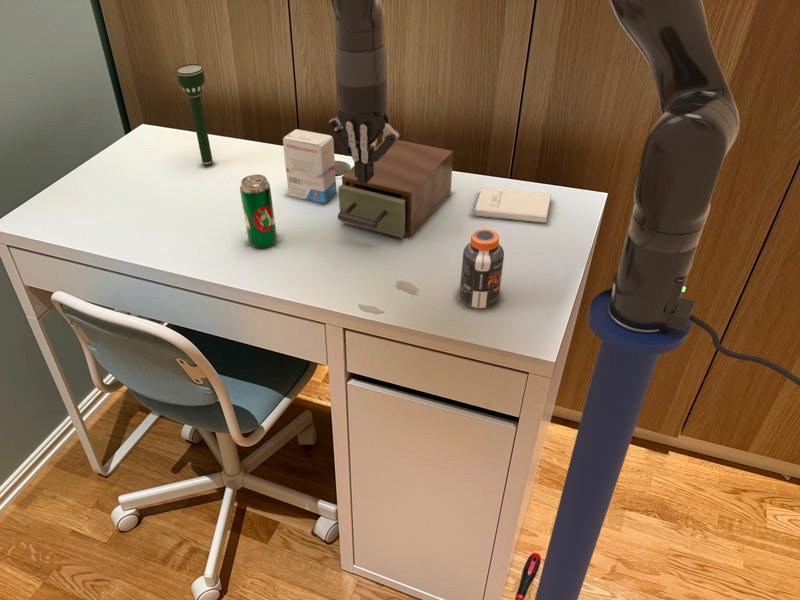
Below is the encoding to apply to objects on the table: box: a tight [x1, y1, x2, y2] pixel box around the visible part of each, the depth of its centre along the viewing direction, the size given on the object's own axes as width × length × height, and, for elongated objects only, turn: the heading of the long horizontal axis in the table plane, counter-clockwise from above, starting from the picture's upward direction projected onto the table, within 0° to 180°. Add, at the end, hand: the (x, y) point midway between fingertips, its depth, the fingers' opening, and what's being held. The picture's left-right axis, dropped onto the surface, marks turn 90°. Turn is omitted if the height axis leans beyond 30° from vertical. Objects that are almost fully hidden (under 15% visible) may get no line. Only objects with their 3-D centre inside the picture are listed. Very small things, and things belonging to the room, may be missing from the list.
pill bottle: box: [459, 228, 505, 309], centre depth 107 cm, size 6×6×11 cm
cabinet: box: [341, 139, 454, 238], centre depth 129 cm, size 17×14×9 cm
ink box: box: [282, 128, 337, 205], centre depth 134 cm, size 9×5×12 cm, turn 59°
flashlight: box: [176, 63, 214, 168], centre depth 143 cm, size 5×5×20 cm
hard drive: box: [474, 187, 552, 224], centre depth 128 cm, size 2×8×12 cm
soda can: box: [239, 174, 278, 249], centre depth 123 cm, size 5×5×12 cm
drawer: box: [337, 183, 407, 239], centre depth 126 cm, size 20×12×7 cm, turn 148°
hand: (364, 180), depth 118 cm, fingers closed
